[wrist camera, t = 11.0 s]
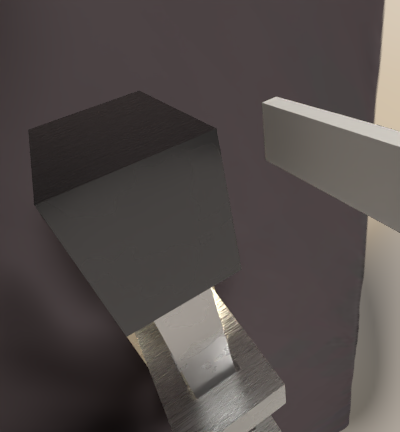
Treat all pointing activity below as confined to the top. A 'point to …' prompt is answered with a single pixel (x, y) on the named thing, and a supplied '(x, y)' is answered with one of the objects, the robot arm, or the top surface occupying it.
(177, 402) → the frame
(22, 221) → the top surface
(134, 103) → the shaft
